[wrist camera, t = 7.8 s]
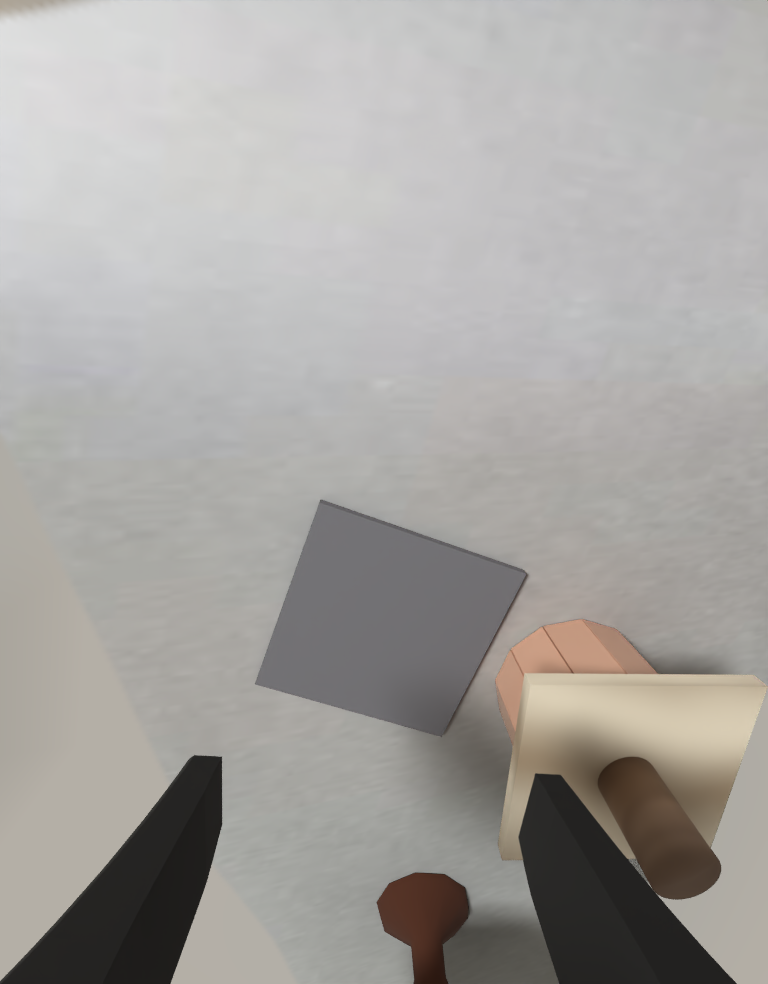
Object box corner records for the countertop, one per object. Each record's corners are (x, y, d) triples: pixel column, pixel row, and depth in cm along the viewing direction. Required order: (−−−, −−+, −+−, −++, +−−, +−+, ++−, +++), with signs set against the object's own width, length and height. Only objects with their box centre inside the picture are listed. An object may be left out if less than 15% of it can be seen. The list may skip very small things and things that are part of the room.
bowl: (587, 594, 20) (648, 658, 15) (663, 685, 21) (737, 767, 17) (468, 679, 21) (494, 761, 17) (549, 760, 23) (591, 853, 18)
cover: (524, 673, 15) (571, 768, 12) (753, 674, 16) (868, 768, 12) (497, 843, 18) (530, 966, 14) (696, 842, 18) (777, 961, 15)
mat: (320, 499, 18) (319, 502, 18) (523, 569, 19) (526, 574, 19) (257, 678, 21) (254, 684, 20) (440, 730, 22) (441, 736, 21)
